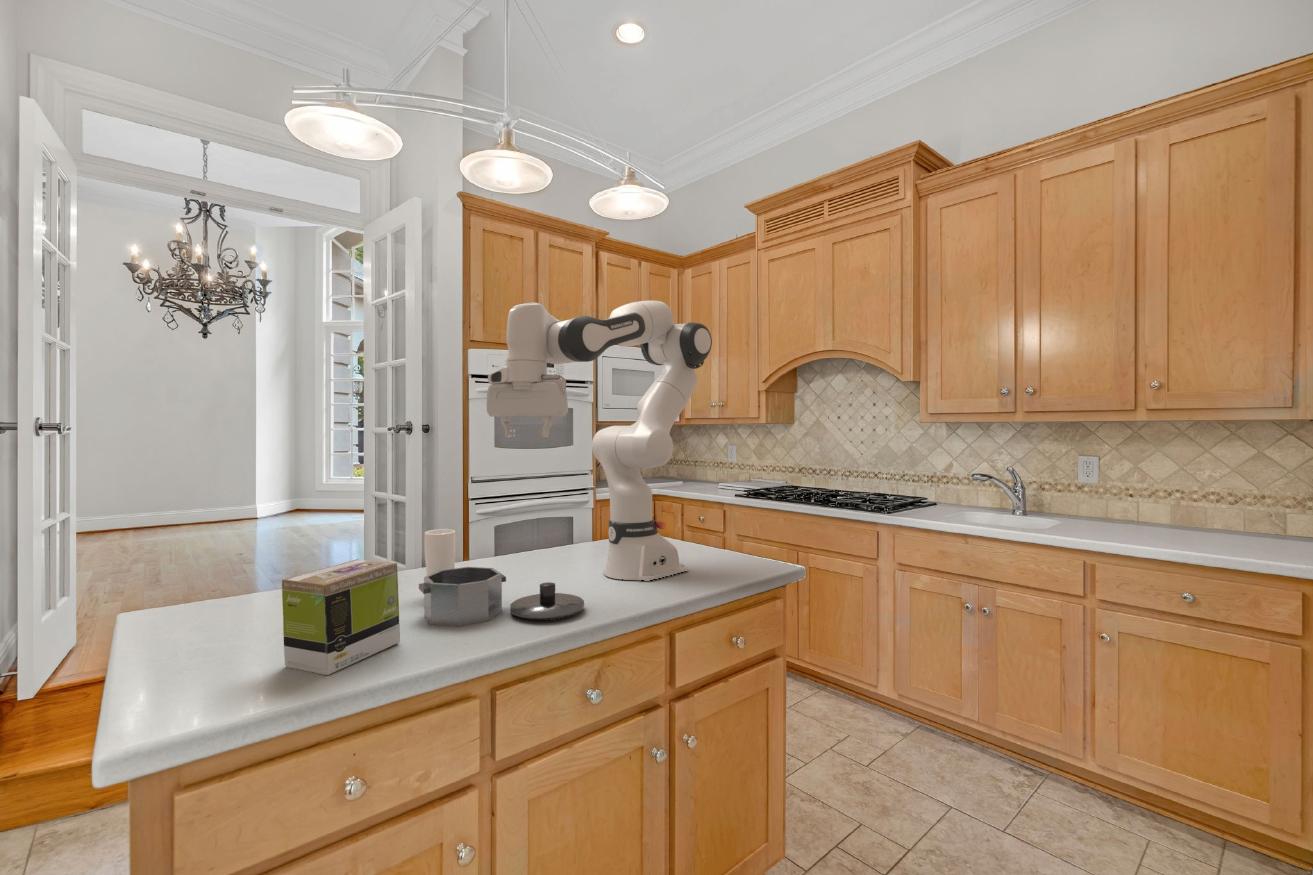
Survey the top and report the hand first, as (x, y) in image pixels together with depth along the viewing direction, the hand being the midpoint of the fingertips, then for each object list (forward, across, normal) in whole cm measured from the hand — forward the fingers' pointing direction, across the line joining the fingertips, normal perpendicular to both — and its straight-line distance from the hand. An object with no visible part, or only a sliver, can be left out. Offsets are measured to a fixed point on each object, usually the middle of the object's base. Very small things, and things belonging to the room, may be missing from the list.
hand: (526, 437), depth 132 cm
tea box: (+37, +8, +40) cm, 55 cm away
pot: (+36, +5, +14) cm, 40 cm away
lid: (+37, -10, +6) cm, 38 cm away
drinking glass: (+37, +18, +7) cm, 42 cm away
